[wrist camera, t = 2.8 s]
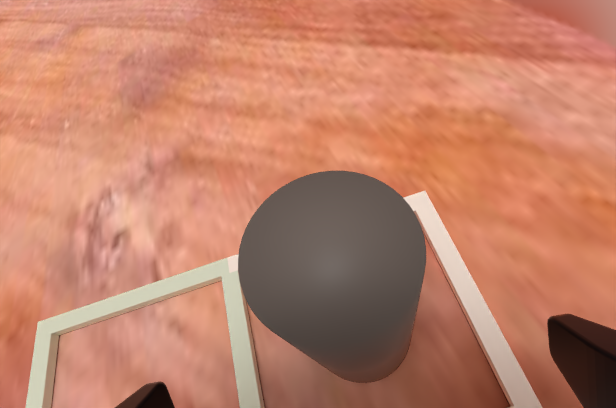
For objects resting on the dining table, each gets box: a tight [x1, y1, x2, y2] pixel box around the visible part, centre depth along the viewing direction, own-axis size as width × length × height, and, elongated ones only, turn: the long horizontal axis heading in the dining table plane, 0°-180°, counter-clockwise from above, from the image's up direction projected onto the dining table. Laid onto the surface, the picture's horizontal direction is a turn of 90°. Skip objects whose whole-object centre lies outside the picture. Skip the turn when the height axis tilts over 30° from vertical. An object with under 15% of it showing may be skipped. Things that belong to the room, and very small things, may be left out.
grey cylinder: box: [238, 171, 426, 383], centre depth 14 cm, size 5×5×10 cm
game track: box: [26, 191, 542, 408], centre depth 18 cm, size 24×12×1 cm, turn 106°
